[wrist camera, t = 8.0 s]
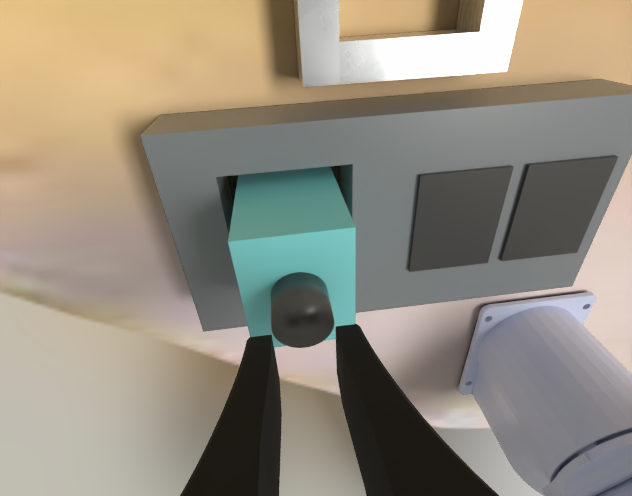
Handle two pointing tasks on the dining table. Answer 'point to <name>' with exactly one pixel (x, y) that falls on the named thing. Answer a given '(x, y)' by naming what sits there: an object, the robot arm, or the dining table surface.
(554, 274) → the switch box
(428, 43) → the grey rectangular frame
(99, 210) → the dining table surface
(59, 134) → the dining table surface
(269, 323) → the plug
